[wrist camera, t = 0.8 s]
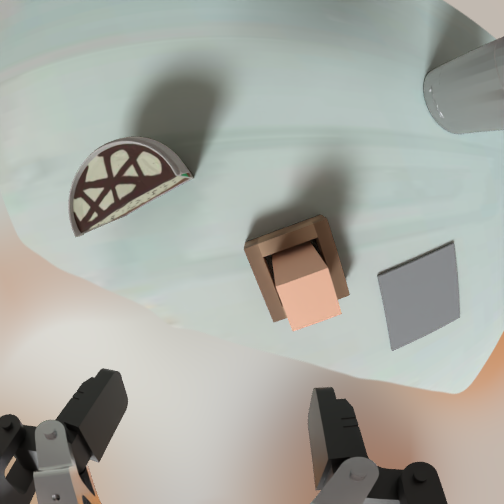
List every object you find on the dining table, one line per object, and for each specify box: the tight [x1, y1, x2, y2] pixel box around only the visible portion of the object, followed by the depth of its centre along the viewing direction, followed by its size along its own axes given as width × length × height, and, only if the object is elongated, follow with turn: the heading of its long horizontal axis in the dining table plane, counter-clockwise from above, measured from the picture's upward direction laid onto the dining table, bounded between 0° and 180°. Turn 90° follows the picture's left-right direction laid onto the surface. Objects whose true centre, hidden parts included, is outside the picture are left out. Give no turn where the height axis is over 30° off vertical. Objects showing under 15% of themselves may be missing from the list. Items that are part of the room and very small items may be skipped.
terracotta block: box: [271, 241, 342, 331], centre depth 29 cm, size 4×4×10 cm
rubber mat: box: [377, 243, 460, 351], centre depth 34 cm, size 12×12×1 cm
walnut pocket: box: [244, 215, 350, 322], centre depth 32 cm, size 9×9×3 cm
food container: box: [69, 137, 194, 237], centre depth 27 cm, size 12×6×10 cm, turn 115°
